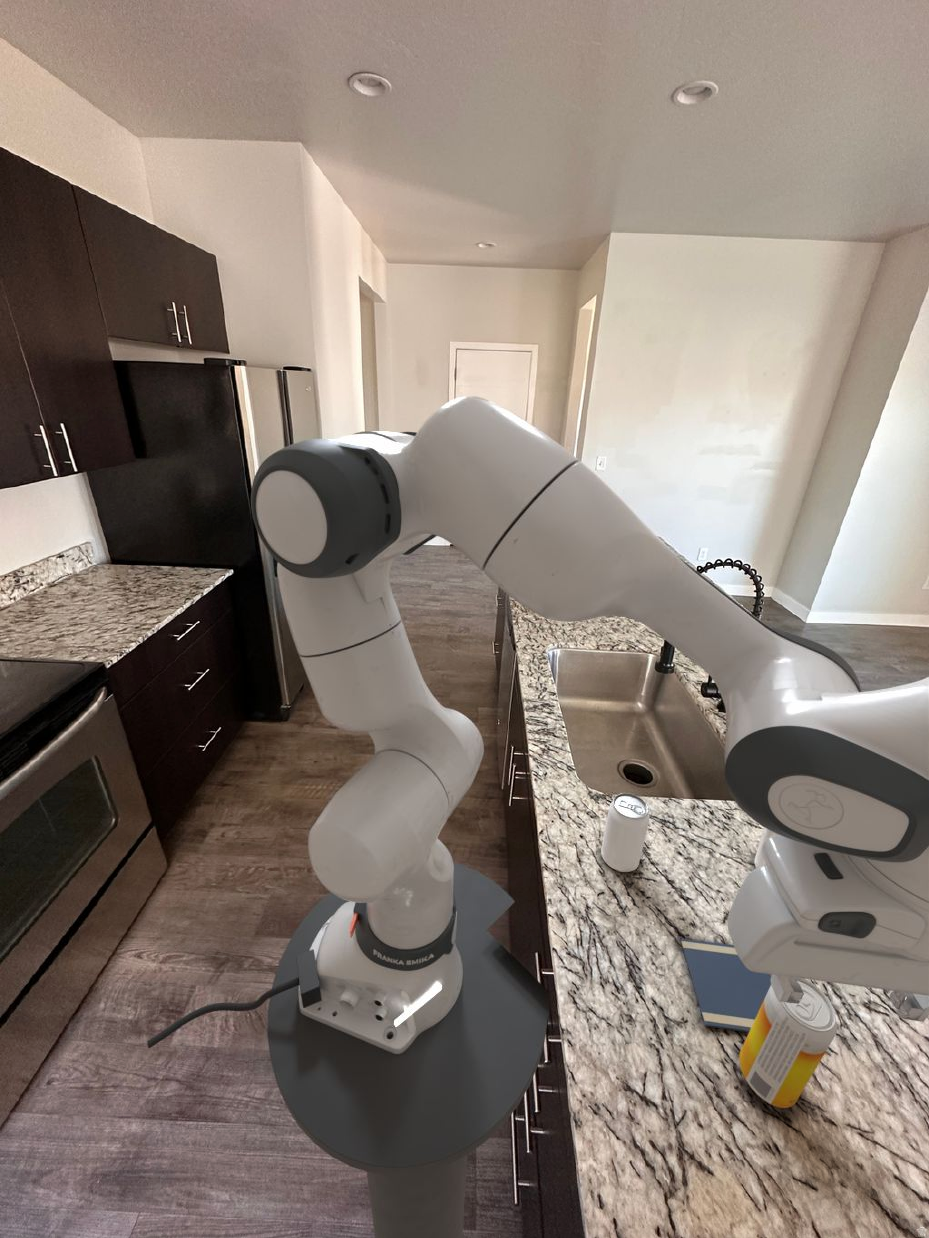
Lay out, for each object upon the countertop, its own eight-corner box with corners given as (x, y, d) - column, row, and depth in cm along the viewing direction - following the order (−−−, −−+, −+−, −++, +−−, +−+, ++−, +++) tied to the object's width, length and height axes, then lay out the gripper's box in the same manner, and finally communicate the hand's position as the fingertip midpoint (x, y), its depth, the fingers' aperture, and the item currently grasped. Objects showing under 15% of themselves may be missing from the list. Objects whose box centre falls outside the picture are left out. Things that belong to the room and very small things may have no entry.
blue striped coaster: (704, 1026, 62) (705, 1024, 62) (680, 939, 72) (680, 938, 72) (796, 1039, 61) (797, 1037, 61) (758, 950, 71) (759, 948, 71)
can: (633, 880, 81) (646, 826, 76) (595, 862, 84) (605, 809, 79) (642, 852, 86) (655, 800, 81) (606, 836, 89) (616, 785, 84)
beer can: (802, 1077, 57) (846, 1002, 51) (788, 1126, 53) (833, 1051, 47) (747, 1033, 61) (781, 958, 55) (729, 1076, 57) (765, 1000, 51)
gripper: (1029, 866, 37) (949, 979, 42) (743, 834, 39) (704, 946, 44) (1122, 952, 31) (1016, 1069, 36) (781, 910, 33) (730, 1027, 38)
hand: (843, 1001), depth 40 cm, fingers open, 8 cm apart
